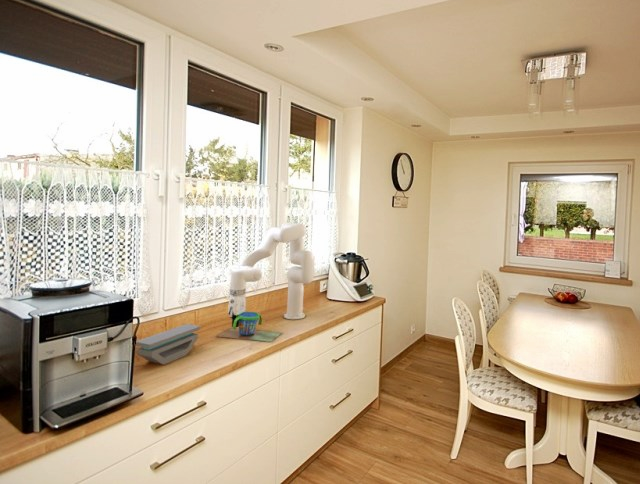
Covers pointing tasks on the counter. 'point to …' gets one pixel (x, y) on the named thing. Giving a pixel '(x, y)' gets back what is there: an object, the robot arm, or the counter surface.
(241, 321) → the snack cup
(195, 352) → the counter surface
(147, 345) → the sharpening stone
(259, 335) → the placemat
